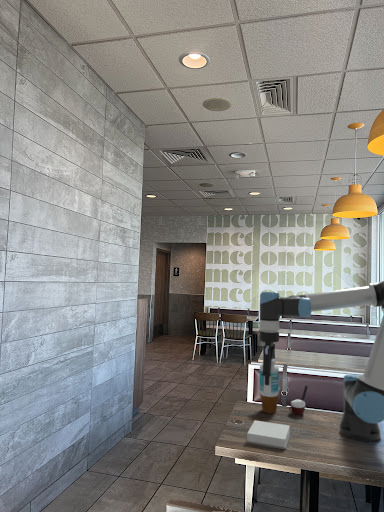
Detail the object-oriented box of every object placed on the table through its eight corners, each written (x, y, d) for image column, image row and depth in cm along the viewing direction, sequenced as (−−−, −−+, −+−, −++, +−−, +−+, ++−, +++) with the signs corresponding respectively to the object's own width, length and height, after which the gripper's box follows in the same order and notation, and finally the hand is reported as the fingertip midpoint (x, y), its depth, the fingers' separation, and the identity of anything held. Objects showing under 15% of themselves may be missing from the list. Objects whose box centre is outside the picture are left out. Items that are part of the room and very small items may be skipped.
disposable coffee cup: (280, 415, 171) (280, 388, 171) (258, 413, 173) (258, 386, 173) (279, 408, 180) (279, 382, 181) (259, 406, 182) (259, 381, 183)
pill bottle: (270, 398, 141) (270, 362, 142) (255, 393, 147) (255, 358, 148) (282, 394, 146) (282, 359, 147) (267, 390, 152) (267, 356, 153)
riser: (290, 434, 150) (290, 425, 150) (285, 449, 136) (285, 439, 137) (254, 428, 155) (254, 420, 155) (246, 442, 141) (246, 433, 142)
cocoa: (290, 416, 171) (288, 389, 171) (287, 411, 177) (286, 385, 177) (311, 416, 170) (310, 389, 171) (307, 410, 176) (306, 385, 177)
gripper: (264, 327, 159) (264, 382, 158) (254, 333, 140) (254, 396, 139) (282, 328, 156) (282, 384, 155) (275, 335, 137) (274, 399, 136)
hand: (269, 390), depth 147 cm, fingers closed on pill bottle, 7 cm apart
